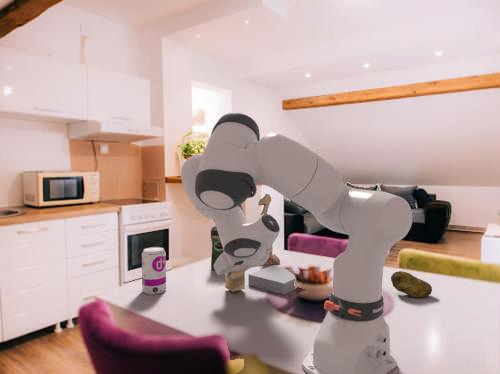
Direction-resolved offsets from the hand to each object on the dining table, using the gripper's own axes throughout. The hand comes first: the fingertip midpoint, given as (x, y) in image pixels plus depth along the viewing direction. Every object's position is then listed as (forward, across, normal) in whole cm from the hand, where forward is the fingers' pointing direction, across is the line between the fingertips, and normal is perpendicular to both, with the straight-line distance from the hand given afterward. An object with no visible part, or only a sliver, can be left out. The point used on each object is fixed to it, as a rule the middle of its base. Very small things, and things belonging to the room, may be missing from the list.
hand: (233, 272), depth 126 cm
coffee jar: (+22, -10, -13) cm, 28 cm away
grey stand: (+2, -17, +7) cm, 19 cm away
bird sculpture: (+21, -33, -11) cm, 41 cm away
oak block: (+3, 0, +4) cm, 5 cm away
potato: (-23, -47, +33) cm, 62 cm away
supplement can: (+16, +23, -7) cm, 29 cm away
